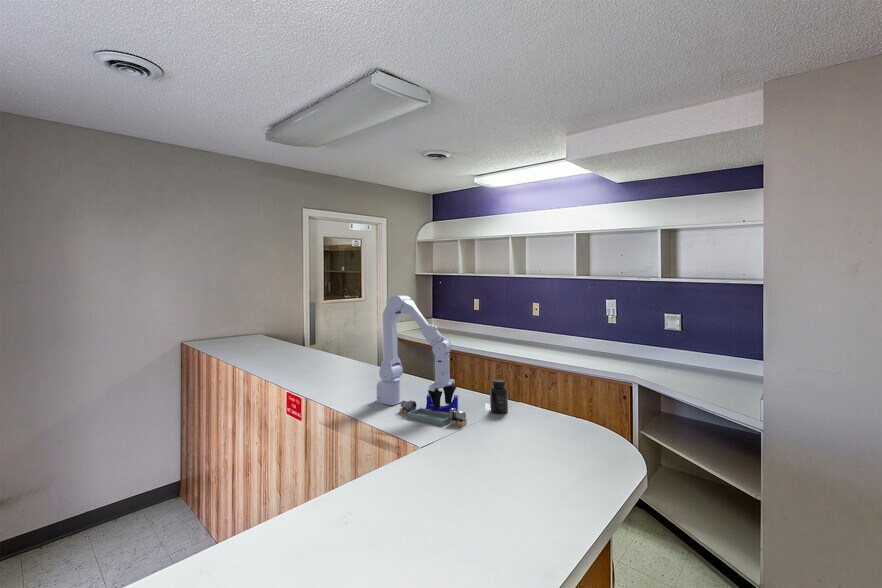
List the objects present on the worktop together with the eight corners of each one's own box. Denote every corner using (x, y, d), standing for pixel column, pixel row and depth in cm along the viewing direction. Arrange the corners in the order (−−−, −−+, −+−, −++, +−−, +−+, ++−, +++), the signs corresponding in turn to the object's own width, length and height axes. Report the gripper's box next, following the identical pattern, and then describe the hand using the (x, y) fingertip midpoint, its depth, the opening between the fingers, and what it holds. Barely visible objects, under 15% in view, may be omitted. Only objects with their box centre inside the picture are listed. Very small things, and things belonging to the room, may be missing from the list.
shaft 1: (416, 413, 158) (416, 399, 158) (407, 416, 155) (407, 401, 155) (407, 411, 161) (407, 397, 161) (399, 413, 158) (399, 399, 158)
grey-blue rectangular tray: (406, 418, 152) (406, 412, 152) (420, 412, 159) (420, 407, 159) (442, 426, 143) (442, 420, 143) (455, 420, 150) (455, 414, 150)
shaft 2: (448, 425, 144) (448, 409, 144) (454, 421, 148) (453, 406, 148) (461, 427, 142) (461, 411, 142) (466, 423, 146) (466, 408, 146)
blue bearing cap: (426, 412, 159) (426, 397, 159) (427, 409, 163) (427, 394, 163) (457, 413, 158) (457, 398, 157) (457, 410, 162) (457, 395, 162)
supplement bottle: (509, 409, 163) (509, 379, 162) (506, 414, 156) (506, 383, 156) (492, 408, 165) (492, 378, 165) (488, 413, 158) (488, 381, 158)
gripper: (439, 375, 152) (440, 412, 152) (461, 369, 164) (461, 403, 164) (424, 373, 156) (424, 409, 156) (446, 367, 168) (446, 400, 168)
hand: (442, 406), depth 160 cm, fingers open, 7 cm apart
